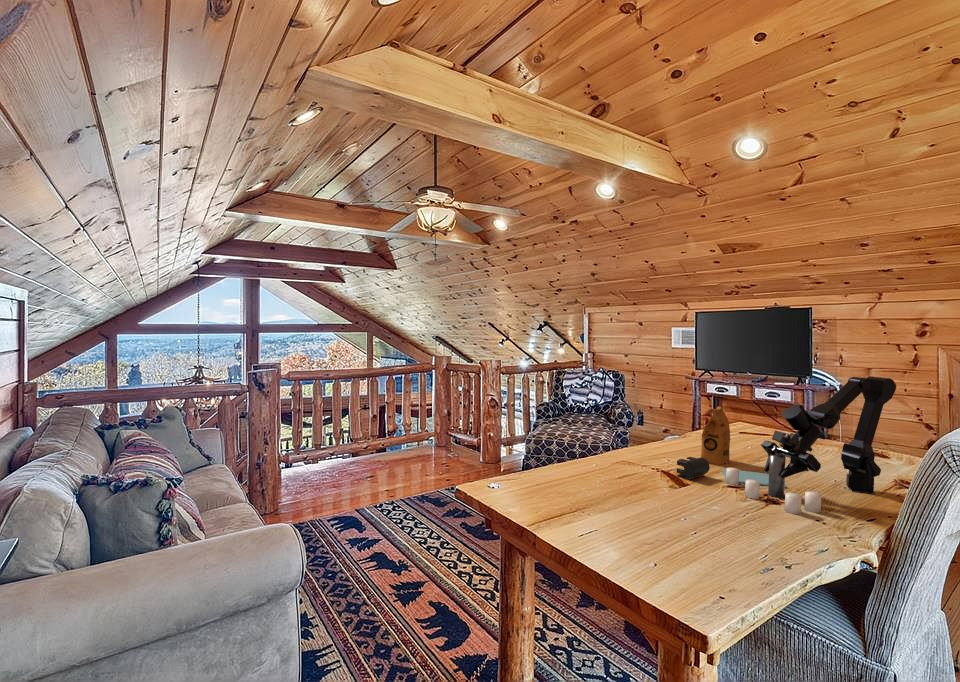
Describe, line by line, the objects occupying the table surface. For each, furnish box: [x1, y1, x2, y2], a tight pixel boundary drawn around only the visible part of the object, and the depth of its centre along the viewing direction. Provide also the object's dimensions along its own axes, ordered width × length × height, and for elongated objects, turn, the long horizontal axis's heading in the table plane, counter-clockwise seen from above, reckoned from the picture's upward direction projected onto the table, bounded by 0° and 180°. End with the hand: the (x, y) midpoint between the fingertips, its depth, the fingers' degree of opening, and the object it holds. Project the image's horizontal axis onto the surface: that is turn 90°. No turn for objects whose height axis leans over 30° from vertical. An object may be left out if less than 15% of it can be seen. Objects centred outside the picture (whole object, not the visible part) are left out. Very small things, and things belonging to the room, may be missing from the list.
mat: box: [720, 468, 788, 489], centre depth 169 cm, size 18×14×1 cm
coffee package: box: [700, 405, 731, 466], centre depth 191 cm, size 10×12×22 cm
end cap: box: [676, 456, 711, 480], centre depth 170 cm, size 10×7×7 cm
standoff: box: [767, 454, 787, 499], centre depth 152 cm, size 4×4×13 cm
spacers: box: [725, 467, 822, 515], centre depth 152 cm, size 14×29×5 cm, turn 11°
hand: (773, 474), depth 152 cm, fingers open, 6 cm apart
